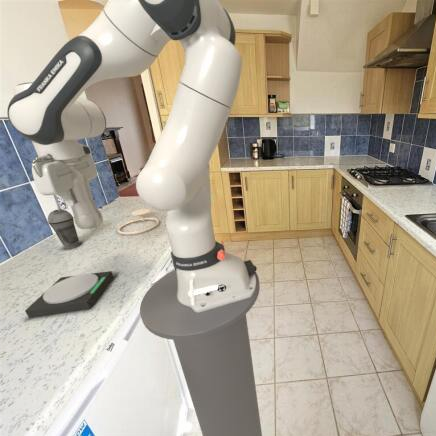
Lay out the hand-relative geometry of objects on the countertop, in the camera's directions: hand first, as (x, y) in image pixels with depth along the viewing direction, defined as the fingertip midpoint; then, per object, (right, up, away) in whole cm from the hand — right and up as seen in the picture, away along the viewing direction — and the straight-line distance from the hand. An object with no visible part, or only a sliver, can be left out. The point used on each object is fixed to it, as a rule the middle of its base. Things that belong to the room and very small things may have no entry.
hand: (79, 200), depth 70 cm
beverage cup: (-26, -16, +27) cm, 41 cm away
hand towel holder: (-10, -8, +44) cm, 46 cm away
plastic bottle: (+1, -8, +4) cm, 9 cm away
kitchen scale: (-1, -27, -1) cm, 27 cm away
